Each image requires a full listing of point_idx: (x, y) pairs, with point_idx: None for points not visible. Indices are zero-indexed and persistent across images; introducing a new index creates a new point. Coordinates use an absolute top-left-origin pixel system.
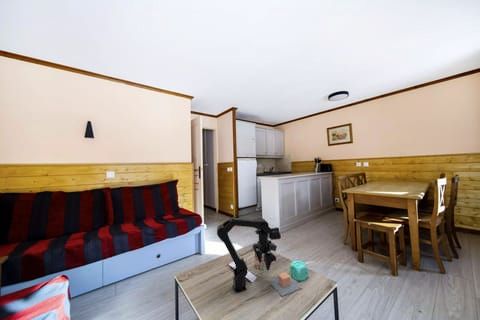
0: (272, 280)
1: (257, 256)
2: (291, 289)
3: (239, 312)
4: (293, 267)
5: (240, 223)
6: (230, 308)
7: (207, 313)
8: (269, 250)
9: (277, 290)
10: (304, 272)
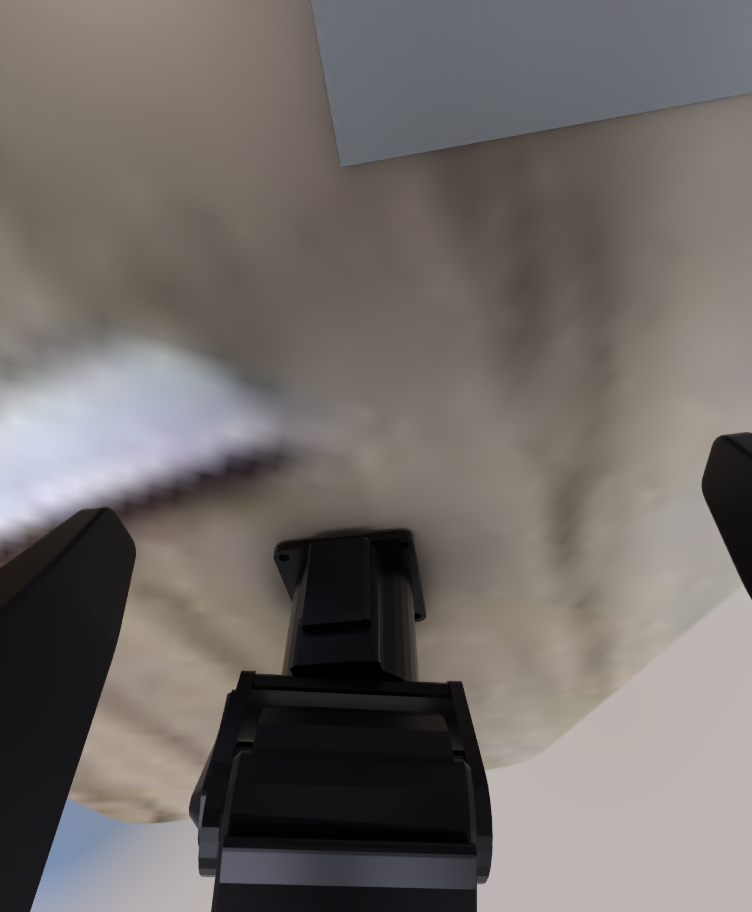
0: (366, 42)
1: (34, 871)
2: None
3: (661, 625)
4: None
5: None
6: (576, 662)
7: (531, 747)
8: None
9: (715, 86)
10: None
